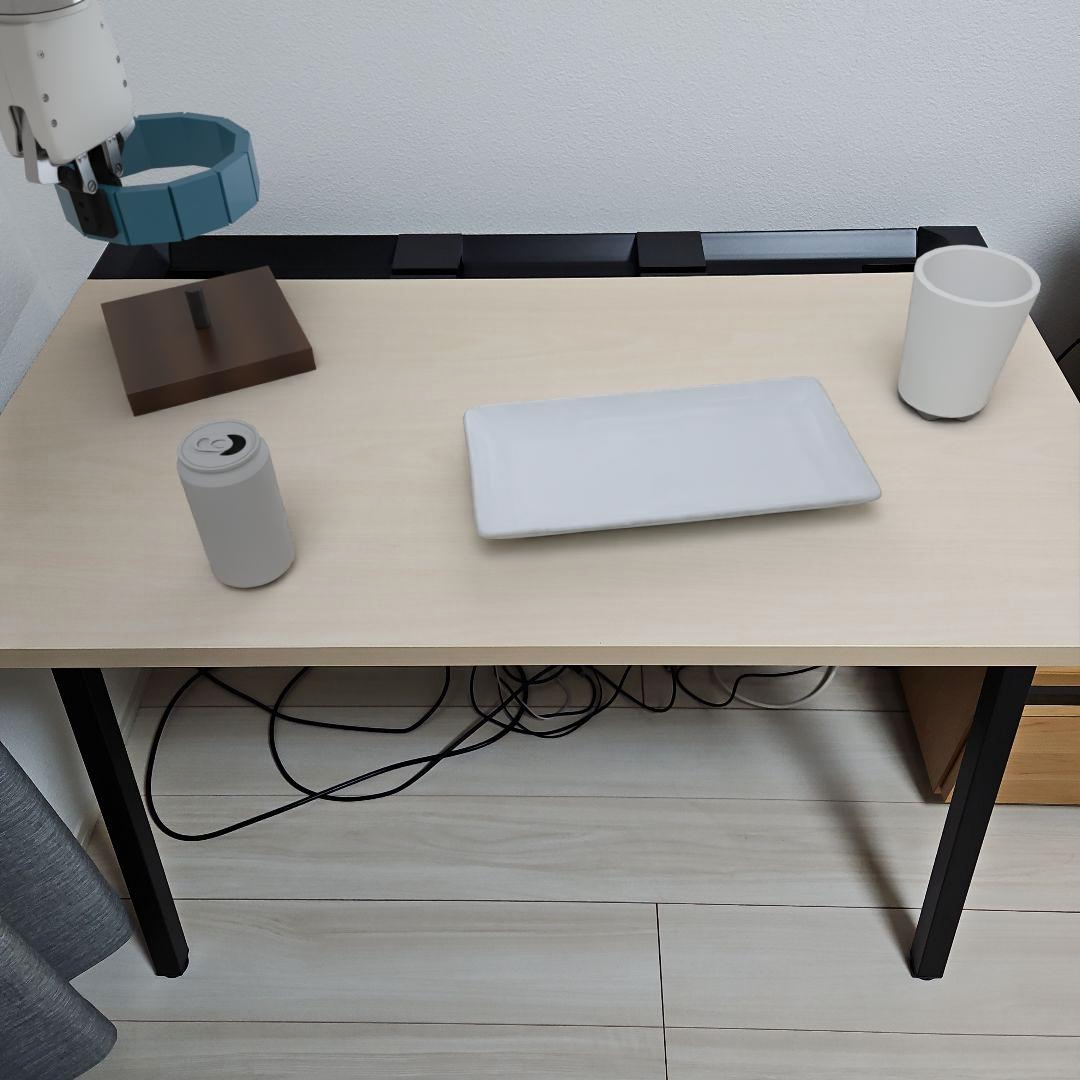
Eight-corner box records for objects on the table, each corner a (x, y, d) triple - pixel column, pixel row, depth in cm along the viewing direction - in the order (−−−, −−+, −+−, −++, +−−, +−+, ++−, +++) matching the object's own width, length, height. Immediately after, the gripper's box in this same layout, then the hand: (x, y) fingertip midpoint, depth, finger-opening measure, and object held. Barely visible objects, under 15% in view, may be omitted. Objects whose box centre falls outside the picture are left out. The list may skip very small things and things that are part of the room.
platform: (134, 416, 95) (112, 356, 90) (107, 325, 106) (87, 267, 101) (316, 369, 100) (304, 309, 95) (272, 286, 111) (260, 229, 106)
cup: (1009, 435, 90) (1056, 306, 82) (893, 433, 91) (928, 304, 82) (981, 369, 98) (1022, 244, 89) (874, 367, 98) (904, 242, 89)
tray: (463, 434, 92) (460, 402, 90) (811, 402, 94) (818, 370, 92) (479, 570, 80) (476, 537, 77) (878, 529, 82) (887, 496, 80)
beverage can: (288, 594, 78) (254, 471, 70) (203, 594, 79) (159, 472, 70) (303, 535, 83) (274, 414, 75) (223, 535, 83) (185, 414, 75)
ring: (78, 262, 84) (59, 209, 80) (55, 181, 95) (38, 132, 92) (282, 220, 88) (272, 168, 85) (238, 147, 100) (228, 99, 96)
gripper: (60, -49, 80) (128, 184, 92) (-95, 12, 69) (6, 266, 82) (142, -41, 78) (201, 196, 90) (-4, 24, 67) (85, 282, 80)
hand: (108, 228), depth 86 cm, fingers closed on ring, 1 cm apart
